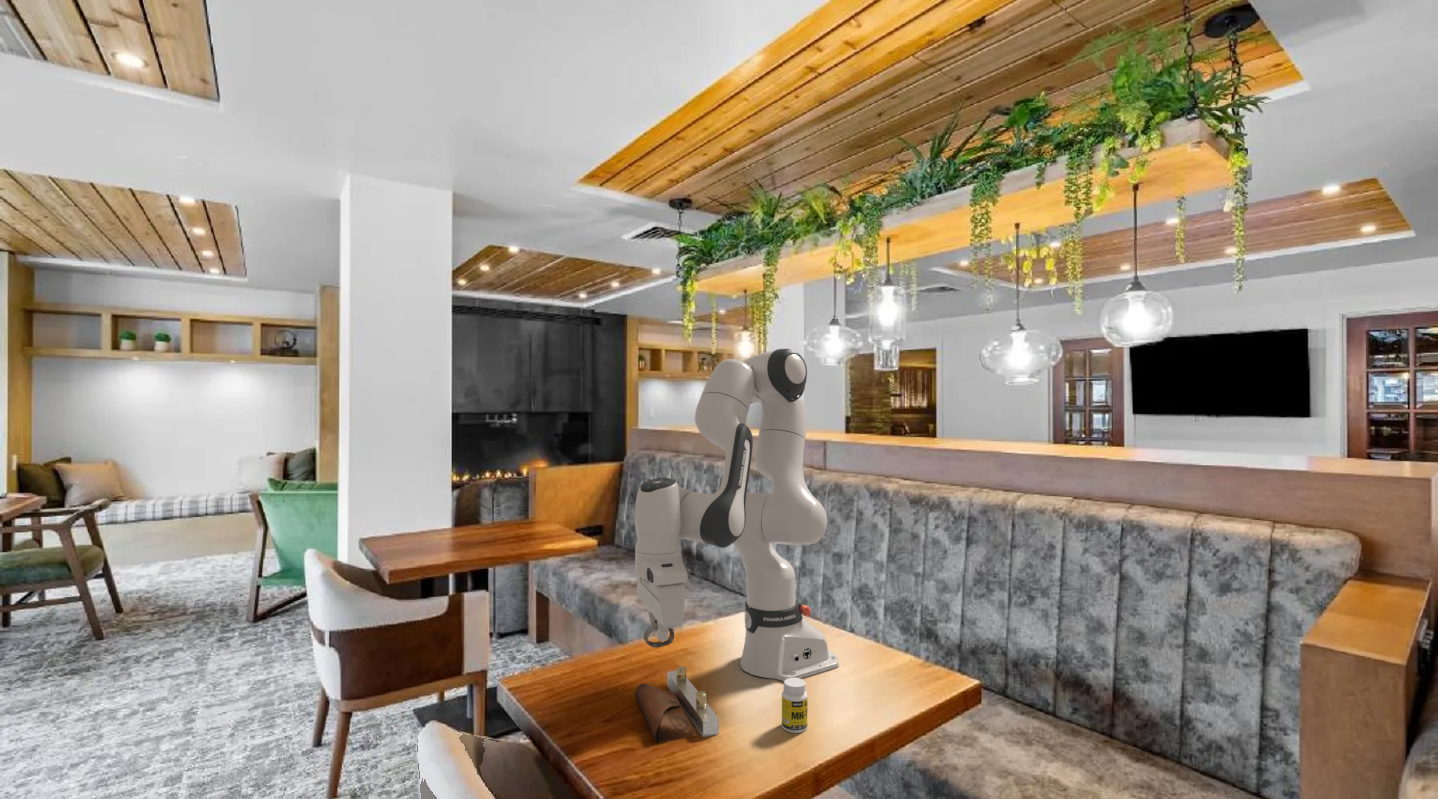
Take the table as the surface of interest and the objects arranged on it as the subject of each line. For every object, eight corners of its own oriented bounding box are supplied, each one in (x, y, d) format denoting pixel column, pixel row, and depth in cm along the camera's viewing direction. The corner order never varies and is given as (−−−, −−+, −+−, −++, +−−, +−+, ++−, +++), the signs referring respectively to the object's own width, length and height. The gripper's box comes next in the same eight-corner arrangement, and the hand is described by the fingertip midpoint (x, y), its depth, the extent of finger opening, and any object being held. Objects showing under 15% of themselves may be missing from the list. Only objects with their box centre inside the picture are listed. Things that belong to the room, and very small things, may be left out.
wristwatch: (677, 644, 125) (677, 618, 125) (648, 651, 121) (648, 625, 121) (668, 639, 128) (668, 613, 127) (640, 645, 124) (640, 619, 124)
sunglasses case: (701, 735, 117) (682, 706, 116) (668, 761, 115) (649, 732, 114) (674, 691, 134) (658, 666, 133) (646, 714, 132) (629, 688, 131)
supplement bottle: (791, 736, 117) (791, 690, 117) (776, 724, 121) (776, 679, 121) (812, 729, 119) (812, 684, 119) (797, 718, 123) (797, 674, 123)
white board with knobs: (680, 683, 138) (680, 658, 138) (718, 734, 118) (718, 704, 117) (667, 686, 137) (667, 660, 137) (703, 737, 116) (703, 707, 116)
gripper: (629, 553, 133) (629, 620, 133) (657, 579, 114) (657, 657, 114) (659, 550, 135) (659, 616, 135) (690, 575, 116) (691, 652, 116)
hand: (658, 635), depth 125 cm, fingers closed on wristwatch, 3 cm apart
